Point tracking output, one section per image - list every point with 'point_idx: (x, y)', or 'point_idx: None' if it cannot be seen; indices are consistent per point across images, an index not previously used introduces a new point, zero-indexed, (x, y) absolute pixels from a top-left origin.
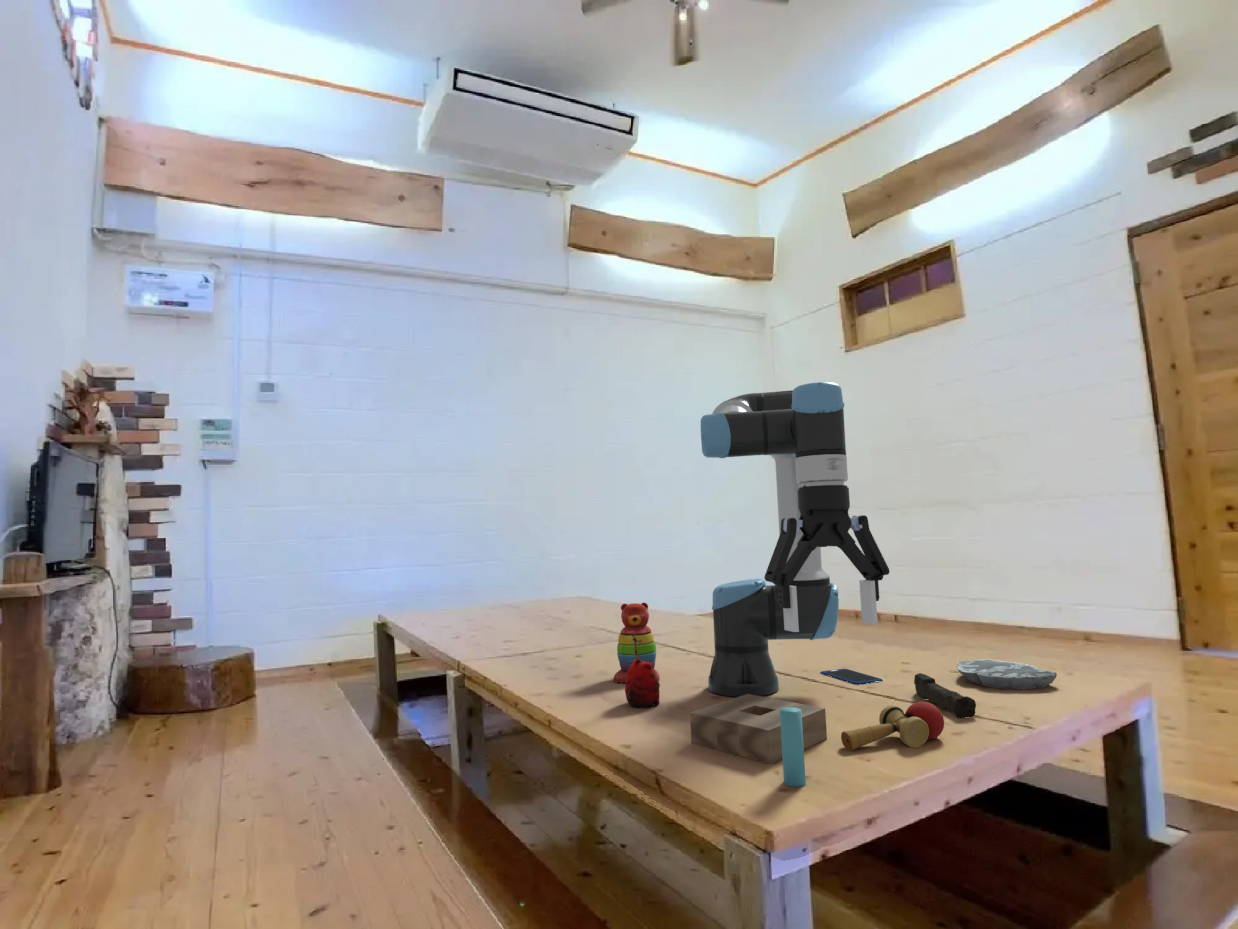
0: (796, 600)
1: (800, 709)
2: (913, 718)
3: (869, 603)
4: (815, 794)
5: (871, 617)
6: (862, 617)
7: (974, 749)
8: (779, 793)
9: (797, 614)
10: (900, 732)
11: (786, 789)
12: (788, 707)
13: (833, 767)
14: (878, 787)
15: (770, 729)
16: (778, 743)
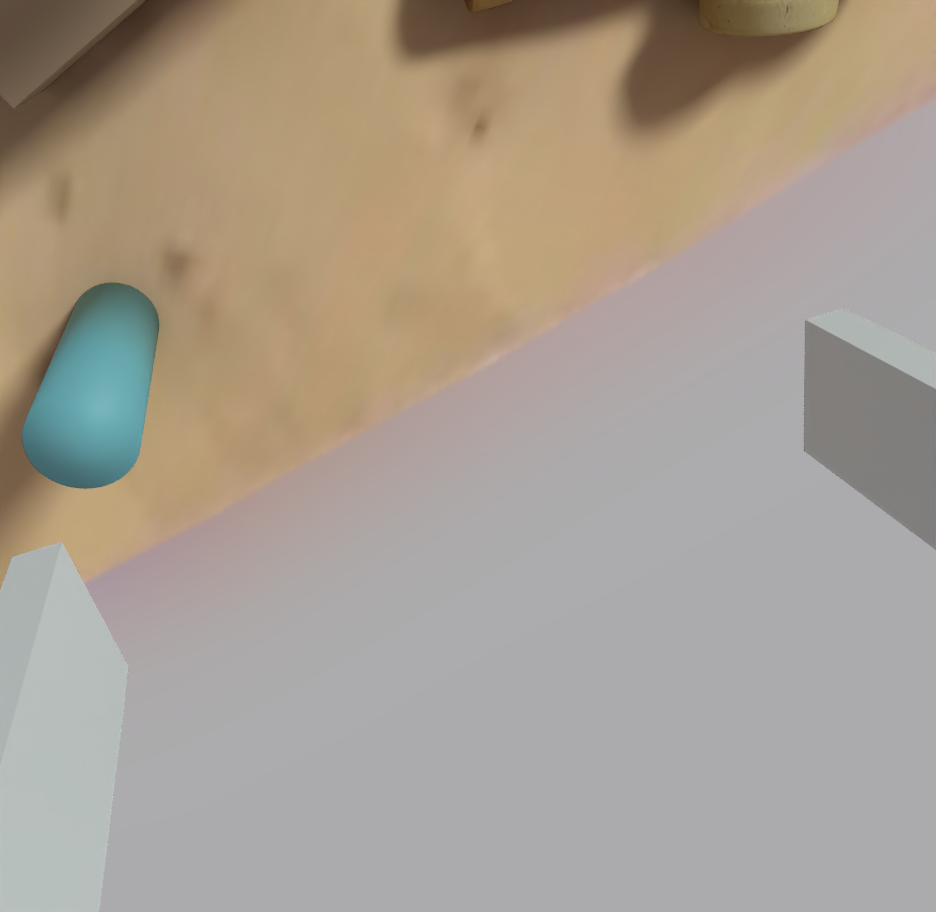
0: (93, 901)
1: (138, 436)
2: (797, 18)
3: (920, 509)
4: (169, 425)
5: (838, 461)
6: (835, 342)
7: (891, 96)
8: None
9: (110, 780)
10: (710, 2)
11: None
12: (79, 392)
13: (315, 183)
14: (394, 392)
15: (27, 94)
16: (87, 48)
